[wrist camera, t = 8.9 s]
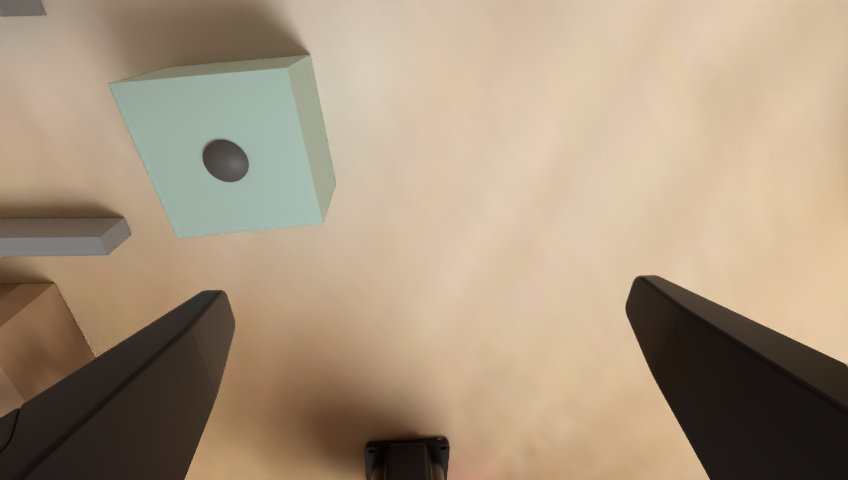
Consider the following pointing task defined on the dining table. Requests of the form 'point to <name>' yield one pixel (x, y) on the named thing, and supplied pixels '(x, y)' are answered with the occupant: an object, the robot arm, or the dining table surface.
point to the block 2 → (232, 143)
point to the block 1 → (36, 342)
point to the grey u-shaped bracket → (56, 232)
